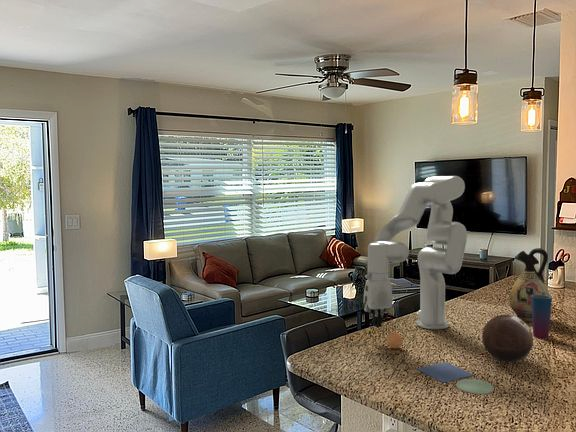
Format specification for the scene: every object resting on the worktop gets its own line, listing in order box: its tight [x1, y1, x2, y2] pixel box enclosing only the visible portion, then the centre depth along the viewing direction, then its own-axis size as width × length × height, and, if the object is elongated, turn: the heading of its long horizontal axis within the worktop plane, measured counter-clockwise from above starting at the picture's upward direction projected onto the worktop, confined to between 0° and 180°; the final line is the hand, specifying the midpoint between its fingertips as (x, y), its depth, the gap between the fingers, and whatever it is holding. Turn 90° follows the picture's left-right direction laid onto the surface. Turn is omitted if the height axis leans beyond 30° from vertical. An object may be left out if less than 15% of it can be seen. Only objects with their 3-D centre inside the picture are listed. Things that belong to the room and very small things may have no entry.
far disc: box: [455, 378, 495, 395], centre depth 144 cm, size 10×10×1 cm
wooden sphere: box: [481, 314, 534, 364], centre depth 162 cm, size 15×15×15 cm
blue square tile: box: [416, 361, 475, 384], centre depth 155 cm, size 12×12×1 cm
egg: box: [386, 331, 404, 350], centre depth 177 cm, size 6×6×6 cm
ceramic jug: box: [508, 247, 551, 323], centre depth 208 cm, size 17×15×30 cm
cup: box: [531, 294, 553, 339], centre depth 186 cm, size 7×7×15 cm
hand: (377, 326), depth 185 cm, fingers closed
